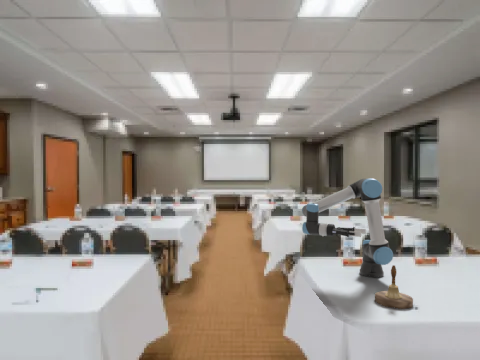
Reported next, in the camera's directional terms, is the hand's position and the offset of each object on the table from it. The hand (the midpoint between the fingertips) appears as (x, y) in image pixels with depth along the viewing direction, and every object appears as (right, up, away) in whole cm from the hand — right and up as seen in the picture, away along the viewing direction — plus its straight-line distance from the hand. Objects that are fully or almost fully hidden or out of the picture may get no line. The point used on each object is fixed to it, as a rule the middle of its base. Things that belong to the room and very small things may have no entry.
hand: (363, 232), depth 205 cm
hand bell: (+7, -29, -25) cm, 39 cm away
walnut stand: (+7, -32, -25) cm, 41 cm away
